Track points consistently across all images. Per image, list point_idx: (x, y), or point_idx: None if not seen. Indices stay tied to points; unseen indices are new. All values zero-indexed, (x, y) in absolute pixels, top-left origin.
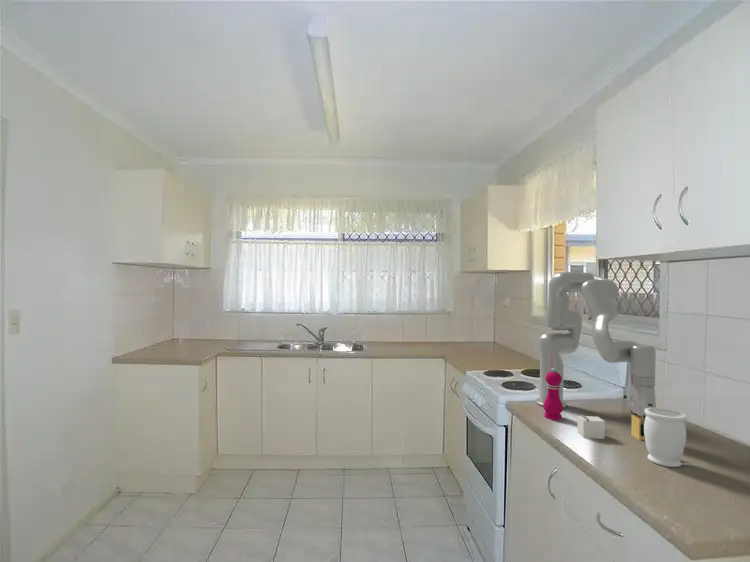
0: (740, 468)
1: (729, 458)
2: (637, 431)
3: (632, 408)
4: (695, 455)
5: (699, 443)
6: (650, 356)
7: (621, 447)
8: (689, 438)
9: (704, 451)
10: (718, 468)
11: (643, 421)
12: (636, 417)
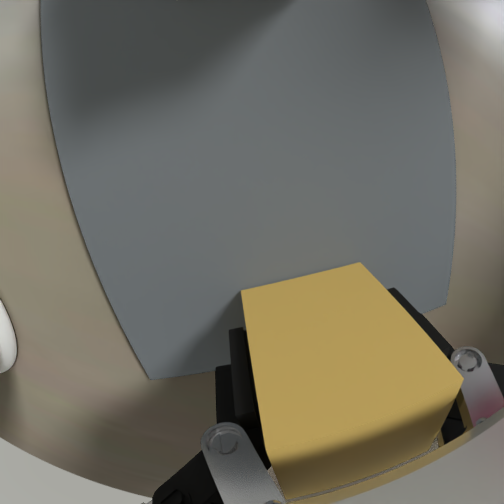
0: (95, 480)
1: None
2: (280, 322)
3: (462, 497)
4: (135, 448)
5: None
6: None
7: (42, 118)
8: None
9: None
10: (49, 444)
11: (217, 461)
12: (361, 427)
